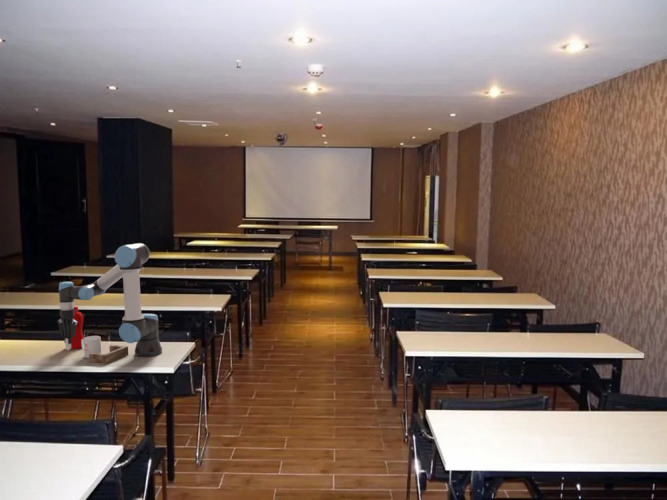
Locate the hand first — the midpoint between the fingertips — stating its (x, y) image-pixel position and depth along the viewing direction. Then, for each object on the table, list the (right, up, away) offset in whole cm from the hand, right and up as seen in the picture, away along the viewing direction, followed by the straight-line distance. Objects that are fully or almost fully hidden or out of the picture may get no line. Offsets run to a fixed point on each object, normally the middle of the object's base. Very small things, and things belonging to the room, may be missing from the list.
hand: (68, 349), depth 336 cm
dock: (+27, -4, -8) cm, 28 cm away
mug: (+15, -4, -4) cm, 16 cm away
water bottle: (-3, -2, +15) cm, 15 cm away
